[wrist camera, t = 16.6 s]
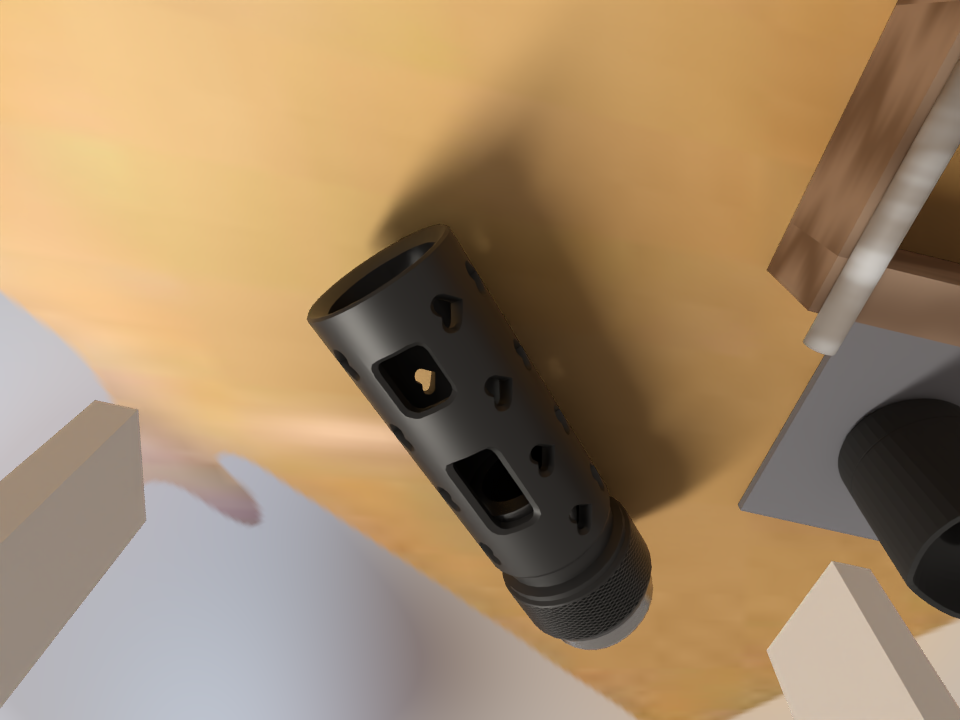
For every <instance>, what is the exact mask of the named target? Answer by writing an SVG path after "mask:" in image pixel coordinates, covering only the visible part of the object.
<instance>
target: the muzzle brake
mask: <svg viewBox="0 0 960 720" xmlns="http://www.w3.org/2000/svg"><path fill="white" fill-rule="evenodd" d="M307 320H308V322H309V324H310V325H311V326H312V328H313V329H314V330H315V332H316V333H317V334H318V335H319V337H320V338H321V339H322V341H323V342H324V343H325V345H326V346H327V347H328V349H329V350H330V351H331V352H332V354H333V355H334V356H335V358H336V359H337V360H338V361H339V363H340V364H341V365H342V367H343V368H344V369H345V371H346V372H347V373H348V375H349V376H350V377H351V379H352V380H353V381H354V382H355V384H356V385H357V386H358V388H359V389H360V390H361V392H362V393H363V394H364V395H365V397H366V398H367V399H368V401H369V402H370V403H371V405H372V406H373V407H374V409H375V410H376V411H377V412H378V414H379V415H380V416H381V418H382V419H383V420H384V422H385V423H386V424H387V425H388V427H389V428H390V429H391V431H392V432H393V433H394V434H395V436H396V437H397V439H398V440H399V441H400V442H401V444H402V445H403V446H404V448H405V449H406V450H407V452H408V453H409V454H410V455H411V457H412V458H413V459H414V461H415V462H416V463H417V465H418V466H419V467H420V469H421V470H422V471H423V472H424V474H425V475H426V476H427V478H428V479H429V480H430V482H431V483H432V484H433V485H434V487H435V488H436V489H437V491H438V492H439V493H440V494H441V496H442V497H443V499H444V500H445V501H446V502H447V504H448V505H449V506H450V508H451V509H452V510H453V512H454V513H455V514H456V515H457V517H458V518H459V519H460V521H461V522H462V523H463V525H464V526H465V527H466V528H467V530H468V531H469V532H470V534H471V535H472V536H473V538H474V539H475V540H476V542H477V543H478V544H479V545H480V546H481V548H482V549H483V551H484V552H485V553H486V555H487V556H488V557H489V558H490V560H491V561H492V562H493V564H494V565H495V566H496V567H497V568H498V569H500V570H501V571H502V572H503V578H504V581H505V584H506V587H507V588H508V590H509V591H510V593H511V594H512V596H513V597H514V598H515V599H516V601H517V602H518V603H519V605H520V606H521V607H522V609H523V610H524V611H525V612H526V614H527V615H528V616H529V618H530V619H531V620H532V621H533V623H534V624H535V625H536V626H537V627H538V628H539V629H540V630H542V631H543V632H544V633H546V634H548V635H550V636H553V637H555V638H558V639H561V640H563V641H564V642H565V643H567V644H569V645H571V646H573V647H576V648H580V649H584V650H598V649H603V648H607V647H610V646H612V645H614V644H617V643H618V642H620V641H621V640H623V639H625V638H626V637H627V636H629V635H630V634H631V633H632V632H633V631H634V630H635V629H636V628H637V627H638V625H639V624H640V623H641V622H642V620H643V619H644V617H645V615H646V613H647V612H648V610H649V606H650V603H651V600H652V593H653V584H652V577H651V568H652V566H651V558H650V553H649V550H648V548H647V545H646V543H645V541H644V540H643V538H642V536H641V535H640V533H639V531H638V530H637V528H636V526H635V525H634V523H633V521H632V520H631V518H630V516H629V515H628V513H627V512H626V510H625V509H624V507H623V506H622V505H621V504H620V503H619V502H618V501H617V500H615V499H614V498H613V497H611V496H609V493H608V489H607V486H606V485H605V483H604V482H603V480H602V478H601V477H600V475H599V473H598V472H597V470H596V468H595V467H594V465H593V463H592V462H591V460H590V458H589V457H588V455H587V453H586V452H585V450H584V448H583V447H582V445H581V444H580V442H579V440H578V439H577V437H576V435H575V434H574V432H573V430H572V429H571V427H570V425H569V424H568V422H567V420H566V419H565V417H564V415H563V414H562V412H561V411H560V409H559V407H558V406H557V404H556V402H555V401H554V399H553V397H552V396H551V394H550V392H549V391H548V389H547V387H546V386H545V384H544V382H543V381H542V379H541V377H540V376H539V374H538V373H537V371H536V369H535V368H534V366H533V364H532V363H531V361H530V359H529V358H528V356H527V354H526V353H525V351H524V349H523V348H522V346H521V345H520V343H519V341H518V340H517V338H516V336H515V335H514V333H513V331H512V330H511V328H510V326H509V325H508V323H507V321H506V320H505V318H504V316H503V315H502V313H501V311H500V310H499V308H498V307H497V305H496V303H495V302H494V300H493V298H492V297H491V295H490V293H489V292H488V290H487V288H486V287H485V285H484V283H483V282H482V280H481V278H480V277H479V275H478V274H477V272H476V271H475V269H474V267H473V265H472V264H471V262H470V260H469V259H468V257H467V255H466V254H465V252H464V250H463V249H462V247H461V245H460V244H459V242H458V240H457V239H456V237H455V236H454V234H453V232H452V231H451V229H450V227H448V226H447V225H440V224H439V225H433V226H430V227H427V228H424V229H422V230H419V231H417V232H415V233H413V234H411V235H409V236H407V237H405V238H403V239H401V240H399V241H398V242H396V243H394V244H392V245H391V246H389V247H387V248H385V249H384V250H382V251H380V252H378V253H377V254H375V255H374V256H372V257H371V258H369V259H368V260H366V261H365V262H363V263H362V264H360V265H359V266H357V267H356V268H355V269H353V270H352V271H351V272H349V273H348V274H347V275H345V276H344V277H343V278H341V279H340V280H339V281H338V282H336V283H335V284H334V285H333V286H332V287H331V288H329V289H328V290H327V291H326V292H325V293H324V294H323V295H322V296H321V297H320V298H319V299H318V300H317V301H316V302H315V303H314V305H313V306H312V307H311V309H310V310H309V313H308V317H307ZM418 369H425V370H429V371H432V374H431V382H430V387H429V389H428V390H427V391H423V388H422V384H421V383H419V382H418V381H416V380H415V372H416V371H417V370H418Z"/></svg>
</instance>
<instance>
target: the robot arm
mask: <svg viewBox="0 0 960 720" xmlns="http://www.w3.org/2000/svg"><path fill="white" fill-rule="evenodd" d="M145 521H146V512H145V499H144V484H143V470H142V456H141V442H140V427H139V413H138V409H133V408H129V407H124V406H120V405H115V404H110V403H106V402H101V401H97V400H95V401H94V402H92V403H91V404H90V405H89V406H88V407H87V408H86V409H85V410H83V411H82V412H81V413H80V414H79V415H77V416H76V417H75V418H74V419H73V420H71V421H70V422H69V423H68V424H67V425H66V426H64V427H63V428H62V429H61V430H60V431H59V432H58V433H56V434H55V435H54V436H53V437H52V438H50V440H48V441H47V442H46V443H45V444H43V445H42V446H41V447H40V448H39V449H38V450H37V451H35V452H34V453H33V454H32V455H31V456H29V457H28V458H27V459H26V460H25V461H23V462H22V463H21V464H20V465H19V466H18V467H16V468H15V469H14V470H13V471H12V472H11V473H9V474H8V475H7V476H6V477H5V478H4V479H2V480H1V481H0V708H1V707H2V705H3V704H4V703H5V702H6V700H7V699H8V698H9V696H10V695H11V694H12V693H13V691H14V690H15V689H16V687H17V686H18V685H19V684H20V682H21V681H22V680H23V678H24V677H25V676H26V675H27V673H28V672H29V671H30V669H31V668H32V667H33V665H34V664H35V663H36V662H37V660H38V659H39V658H40V656H41V655H42V654H43V653H44V651H45V650H46V649H47V647H48V646H49V645H50V644H51V642H52V641H53V640H54V638H55V637H56V636H57V635H58V633H59V632H60V631H61V629H62V628H63V627H64V625H65V624H66V623H67V621H68V620H69V619H70V618H71V617H72V615H73V614H74V613H75V611H76V610H77V609H78V607H79V606H80V605H81V604H82V602H83V601H84V600H85V599H86V597H87V596H88V595H89V593H90V592H91V591H92V590H93V588H94V587H95V586H96V584H97V583H98V582H99V581H100V579H101V578H102V576H103V575H104V574H105V573H106V571H107V570H108V569H109V568H110V566H111V565H112V564H113V562H114V561H115V560H116V558H117V557H118V556H119V555H120V553H121V552H122V551H123V550H124V548H125V547H126V546H127V544H128V543H129V542H130V541H131V539H132V538H133V537H134V535H135V534H136V533H137V532H138V530H139V529H140V528H141V526H142V525H143V524H144V523H145ZM767 653H768V655H769V658H770V660H771V663H772V665H773V668H774V671H775V673H776V676H777V678H778V681H779V683H780V686H781V688H782V691H783V694H784V696H785V699H786V701H787V704H788V706H789V709H790V711H791V714H792V717H793V719H794V720H960V708H959V707H958V705H957V704H956V702H955V701H954V699H953V697H952V696H951V694H950V693H949V691H948V690H947V689H946V687H945V685H944V684H943V682H942V680H941V679H940V677H939V676H938V675H937V673H936V671H935V670H934V668H933V666H932V665H931V664H930V662H929V660H928V659H927V657H926V655H925V654H924V653H923V651H922V649H921V648H920V646H919V645H918V643H917V641H916V640H915V638H914V637H913V635H912V634H911V632H910V631H909V629H908V627H907V626H906V624H905V623H904V621H903V620H902V618H901V617H900V615H899V613H898V612H897V610H896V609H895V607H894V606H893V604H892V603H891V601H890V599H889V598H888V596H887V595H886V593H885V592H884V590H883V589H882V587H881V585H880V584H879V582H878V581H877V579H876V578H875V576H874V575H873V573H872V571H871V570H870V569H867V568H862V567H858V566H853V565H849V564H844V563H839V562H835V561H831V563H830V564H829V566H828V567H827V568H826V570H825V571H824V572H823V574H822V575H821V577H820V578H819V579H818V581H817V582H816V583H815V585H814V586H813V587H812V589H811V590H810V592H809V593H808V594H807V596H806V597H805V598H804V600H803V601H802V603H801V604H800V605H799V607H798V608H797V609H796V611H795V612H794V614H793V615H792V616H791V618H790V619H789V620H788V622H787V623H786V624H785V626H784V627H783V629H782V630H781V631H780V633H779V634H778V635H777V637H776V638H775V640H774V641H773V642H772V644H771V645H770V646H769V648H768V649H767Z"/></svg>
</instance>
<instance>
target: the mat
mask: <svg viewBox="0 0 960 720" xmlns="http://www.w3.org/2000/svg"><path fill="white" fill-rule="evenodd" d="M922 398H929V399H939V400H944V401H948V402H951V403H953V404H955V405H958V406H960V347H958V346H954V345H950V344H945V343H941V342H937V341H933V340H929V339H924V338H920V337H916V336H912V335H908V334H904V333H899V332H895V331H891V330H887V329H883V328H878V327H874V326H870V325H866V324H862V323H858V322H854V324H853V325H852V327H851V329H850V330H849V332H848V334H847V335H846V337H845V339H844V341H843V342H842V344H841V346H840V347H839V349H838V351H837V352H836V354H835V355H833V356H830V355H825V356H824V357H823V359H822V361H821V363H820V364H819V366H818V368H817V370H816V371H815V373H814V375H813V376H812V378H811V380H810V382H809V383H808V385H807V387H806V388H805V390H804V392H803V394H802V395H801V397H800V399H799V400H798V402H797V404H796V406H795V407H794V409H793V411H792V413H791V414H790V416H789V418H788V419H787V421H786V423H785V425H784V426H783V428H782V430H781V431H780V433H779V435H778V437H777V438H776V440H775V442H774V443H773V445H772V447H771V449H770V450H769V452H768V454H767V456H766V457H765V459H764V461H763V462H762V464H761V466H760V468H759V469H758V471H757V473H756V474H755V476H754V478H753V480H752V481H751V483H750V485H749V486H748V488H747V490H746V492H745V493H744V495H743V497H742V499H741V500H740V502H739V504H738V506H739V508H740V510H741V511H746V512H751V513H755V514H760V515H764V516H769V517H773V518H778V519H782V520H787V521H791V522H796V523H800V524H805V525H809V526H814V527H818V528H823V529H828V530H832V531H837V532H841V533H846V534H850V535H855V536H859V537H864V538H868V539H873V540H877V541H879V540H878V538H877V537H876V535H875V533H874V532H873V530H872V529H871V527H870V525H869V524H868V522H867V521H866V519H865V517H864V516H863V514H862V513H861V511H860V509H859V508H858V506H857V504H856V503H855V501H854V499H853V498H852V496H851V494H850V493H849V491H848V489H847V488H846V486H845V484H844V483H843V481H842V479H841V476H840V474H839V470H838V457H839V452H840V449H841V447H842V444H843V442H844V440H845V439H846V437H847V435H848V434H849V433H850V431H851V430H852V429H853V428H854V427H855V426H856V425H857V424H858V423H859V422H860V421H861V420H862V419H864V418H865V417H866V416H868V415H869V414H871V413H873V412H874V411H876V410H878V409H880V408H882V407H884V406H887V405H890V404H893V403H896V402H900V401H903V400H910V399H922Z"/></svg>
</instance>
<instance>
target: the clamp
mask: <svg viewBox="0 0 960 720" xmlns="http://www.w3.org/2000/svg"><path fill="white" fill-rule="evenodd" d="M959 144H960V0H898V2H897V4H896V6H895V8H894V10H893V12H892V14H891V16H890V18H889V20H888V22H887V25H886V27H885V29H884V31H883V33H882V35H881V37H880V39H879V41H878V43H877V45H876V47H875V49H874V51H873V53H872V55H871V57H870V59H869V61H868V63H867V66H866V68H865V70H864V72H863V74H862V76H861V78H860V80H859V82H858V84H857V86H856V88H855V90H854V92H853V94H852V96H851V98H850V100H849V102H848V105H847V107H846V109H845V111H844V113H843V115H842V117H841V119H840V121H839V123H838V125H837V127H836V129H835V131H834V133H833V135H832V137H831V139H830V141H829V144H828V146H827V148H826V150H825V152H824V154H823V156H822V158H821V160H820V162H819V164H818V166H817V168H816V170H815V172H814V174H813V176H812V178H811V180H810V182H809V185H808V187H807V189H806V191H805V193H804V195H803V197H802V199H801V201H800V203H799V205H798V207H797V209H796V211H795V213H794V215H793V217H792V219H791V221H790V224H789V226H788V228H787V230H786V232H785V234H784V236H783V238H782V240H781V242H780V244H779V246H778V248H777V250H776V252H775V254H774V256H773V258H772V260H771V263H770V265H769V267H768V269H767V271H768V272H769V273H770V274H771V275H772V276H773V277H774V278H775V279H777V280H778V281H779V282H780V283H781V284H782V285H783V286H784V287H785V288H786V289H787V290H788V291H789V292H790V293H791V294H792V295H793V296H794V297H795V298H796V299H797V300H798V301H799V302H800V303H801V304H802V305H803V306H804V307H805V308H806V309H807V310H808V311H812V312H816V313H818V315H817V317H816V319H815V320H814V322H813V324H812V326H811V328H810V330H809V331H808V333H807V335H806V337H805V339H804V340H803V343H804V344H805V345H806V346H807V347H809V348H810V349H812V350H814V351H816V352H819V353H821V354H825V355H830V356H833V355H835V354H836V352H837V351H838V349H839V347H840V346H841V344H842V342H843V341H844V339H845V337H846V335H847V334H848V332H849V330H850V329H851V327H852V325H853V324H854V322H858V323H862V324H866V325H870V326H874V327H878V328H883V329H887V330H891V331H895V332H899V333H904V334H908V335H912V336H916V337H920V338H924V339H929V340H933V341H937V342H941V343H945V344H950V345H954V346H958V347H960V264H959V263H955V262H951V261H946V260H942V259H938V258H934V257H930V256H926V255H922V254H918V253H914V252H910V251H906V250H902V249H898V247H899V246H900V244H901V242H902V241H903V239H904V237H905V236H906V234H907V232H908V231H909V229H910V227H911V225H912V224H913V222H914V220H915V219H916V217H917V215H918V214H919V212H920V210H921V209H922V207H923V205H924V203H925V202H926V200H927V198H928V197H929V195H930V193H931V192H932V190H933V188H934V187H935V185H936V183H937V181H938V180H939V178H940V176H941V175H942V173H943V171H944V170H945V168H946V166H947V165H948V163H949V161H950V159H951V158H952V156H953V154H954V153H955V151H956V149H957V148H958V146H959Z"/></svg>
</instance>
